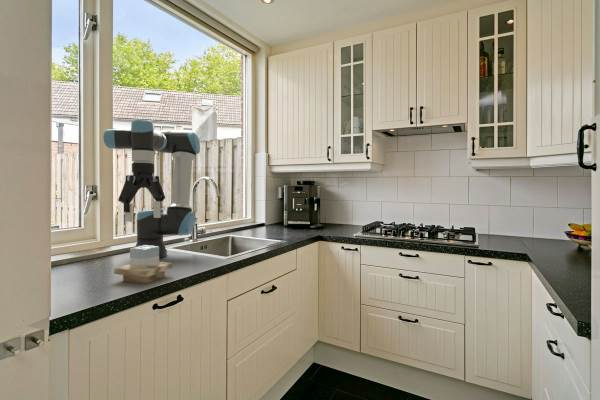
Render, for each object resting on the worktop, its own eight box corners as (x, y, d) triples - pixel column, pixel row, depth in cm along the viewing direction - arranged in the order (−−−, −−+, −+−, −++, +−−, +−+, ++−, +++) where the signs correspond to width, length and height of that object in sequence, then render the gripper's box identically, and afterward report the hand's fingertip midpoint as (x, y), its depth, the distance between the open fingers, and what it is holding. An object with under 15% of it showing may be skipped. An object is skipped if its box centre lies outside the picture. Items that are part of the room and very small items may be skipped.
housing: (159, 264, 125) (159, 246, 125) (145, 268, 118) (145, 249, 118) (141, 262, 128) (141, 244, 127) (126, 266, 121) (126, 248, 121)
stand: (143, 272, 132) (143, 259, 132) (172, 275, 128) (172, 263, 127) (114, 281, 119) (114, 268, 119) (145, 286, 114) (144, 272, 114)
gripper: (159, 164, 134) (159, 215, 135) (105, 160, 110) (107, 222, 111) (174, 164, 132) (174, 216, 133) (123, 160, 108) (124, 223, 109)
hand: (143, 219), depth 122 cm, fingers open, 13 cm apart
